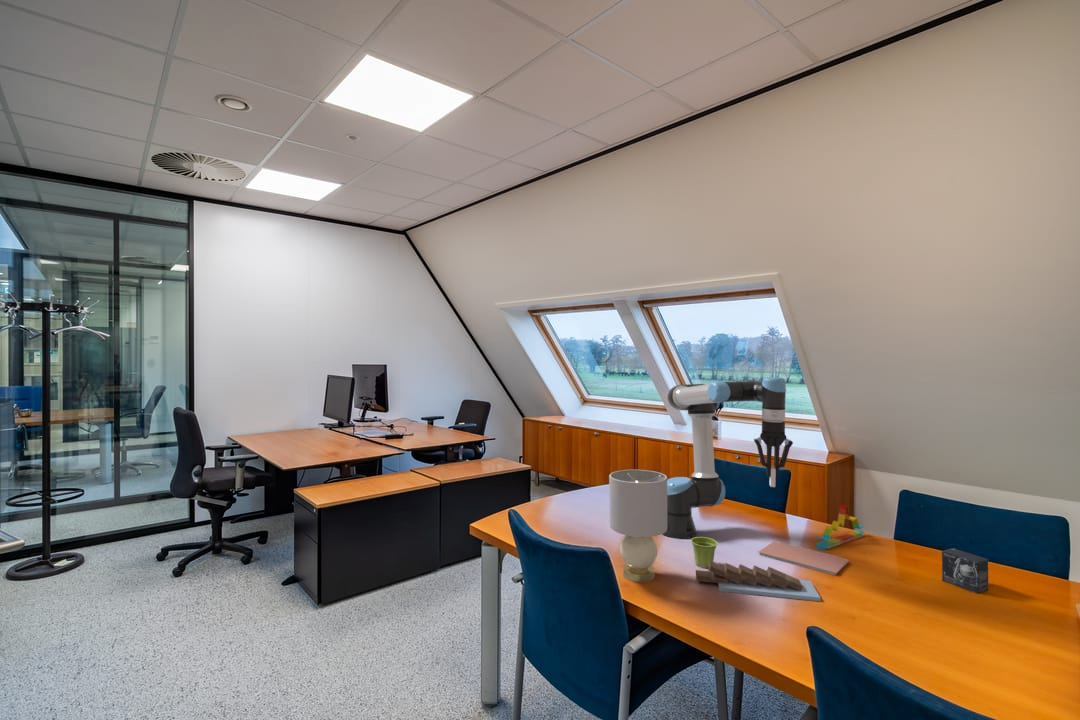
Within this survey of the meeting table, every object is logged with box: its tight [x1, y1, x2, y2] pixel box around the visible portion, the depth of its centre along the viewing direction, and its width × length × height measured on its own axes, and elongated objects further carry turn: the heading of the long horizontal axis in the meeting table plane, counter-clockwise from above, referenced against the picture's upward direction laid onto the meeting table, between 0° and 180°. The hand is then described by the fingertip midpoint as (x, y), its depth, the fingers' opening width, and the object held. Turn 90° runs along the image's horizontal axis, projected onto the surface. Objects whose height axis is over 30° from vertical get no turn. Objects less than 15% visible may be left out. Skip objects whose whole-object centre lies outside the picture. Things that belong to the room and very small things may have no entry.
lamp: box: [608, 469, 668, 583], centre depth 179 cm, size 20×20×35 cm
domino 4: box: [737, 563, 772, 588], centre depth 170 cm, size 2×5×10 cm
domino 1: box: [695, 569, 728, 584], centre depth 173 cm, size 2×5×10 cm
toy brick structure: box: [815, 504, 865, 551], centre depth 210 cm, size 30×3×15 cm, turn 121°
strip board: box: [717, 579, 821, 602], centre depth 169 cm, size 30×12×1 cm, turn 76°
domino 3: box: [723, 562, 757, 586], centre depth 171 cm, size 2×5×10 cm
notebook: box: [758, 540, 850, 576], centre depth 193 cm, size 27×17×2 cm, turn 44°
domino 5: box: [751, 564, 787, 589], centre depth 169 cm, size 2×5×10 cm
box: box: [941, 548, 990, 594], centre depth 169 cm, size 11×7×10 cm, turn 23°
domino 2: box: [708, 561, 740, 584], centre depth 172 cm, size 2×5×10 cm
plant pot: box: [690, 536, 718, 569], centre depth 188 cm, size 9×9×9 cm
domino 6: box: [766, 566, 803, 591], centre depth 167 cm, size 2×5×10 cm
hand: (772, 485), depth 182 cm, fingers closed
